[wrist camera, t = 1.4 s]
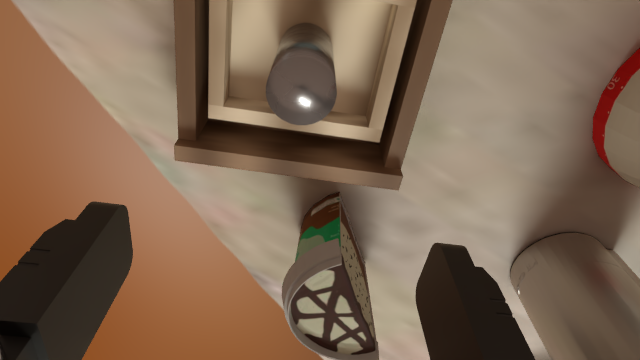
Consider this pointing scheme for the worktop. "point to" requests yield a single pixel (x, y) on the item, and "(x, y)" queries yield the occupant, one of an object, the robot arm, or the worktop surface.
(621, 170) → the kitchen timer
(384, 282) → the worktop surface
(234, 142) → the bay
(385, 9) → the grey beige boxy piece
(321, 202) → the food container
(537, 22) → the worktop surface
